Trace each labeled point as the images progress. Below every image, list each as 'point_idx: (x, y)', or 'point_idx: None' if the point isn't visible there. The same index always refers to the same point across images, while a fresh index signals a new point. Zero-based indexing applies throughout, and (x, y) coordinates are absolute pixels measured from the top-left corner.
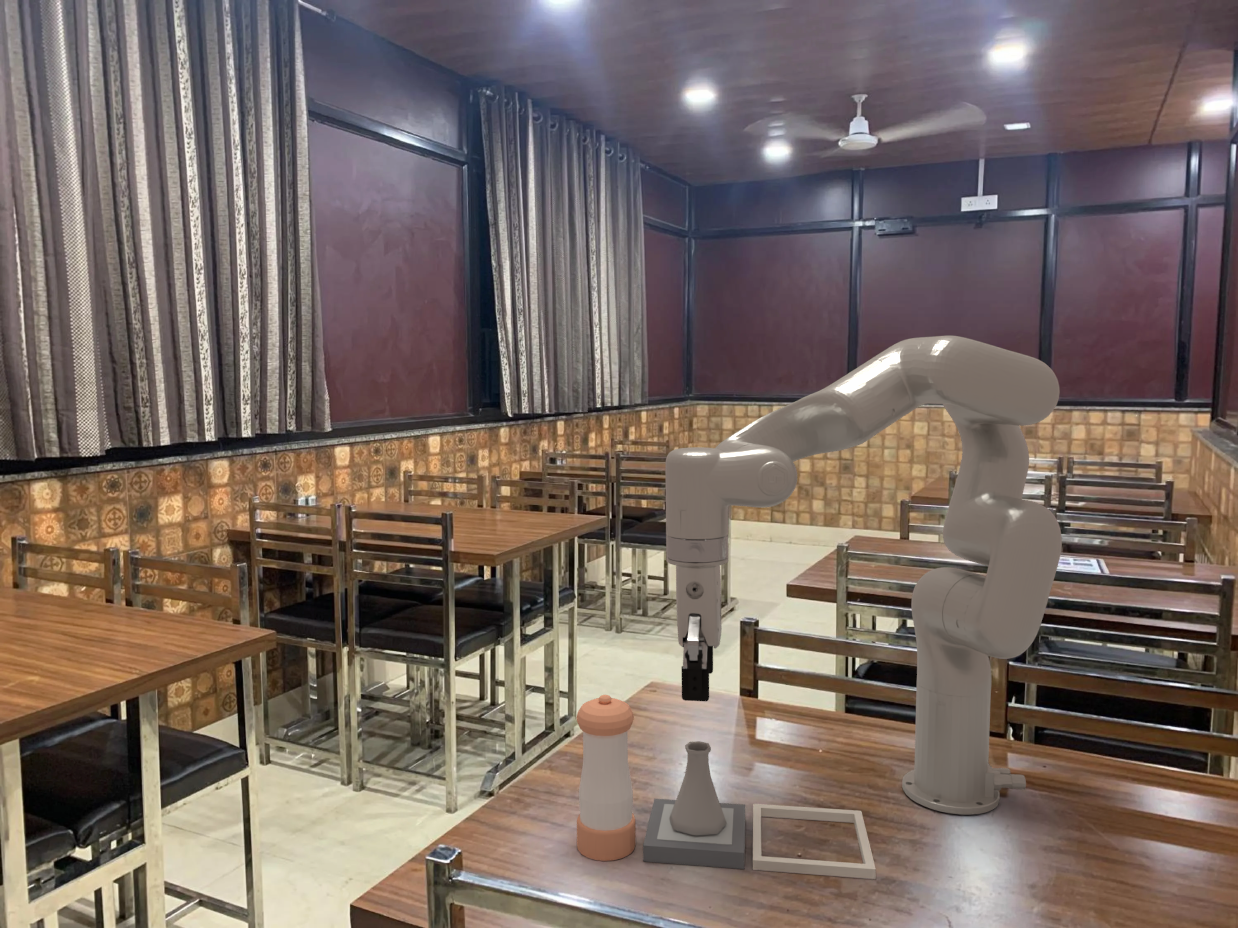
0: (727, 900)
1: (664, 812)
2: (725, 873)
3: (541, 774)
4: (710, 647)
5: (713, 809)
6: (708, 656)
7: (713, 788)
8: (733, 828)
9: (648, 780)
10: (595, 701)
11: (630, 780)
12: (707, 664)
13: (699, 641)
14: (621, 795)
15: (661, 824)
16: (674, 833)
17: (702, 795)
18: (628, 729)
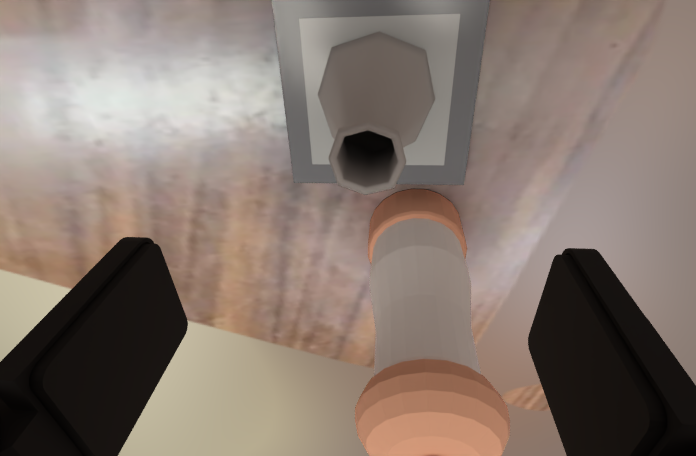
0: (598, 10)
1: None
2: (500, 21)
3: (230, 326)
4: (59, 366)
5: (409, 70)
6: (107, 322)
7: (379, 80)
8: (386, 13)
9: (188, 191)
10: None
11: (420, 263)
12: (139, 289)
13: (55, 451)
14: (458, 266)
15: None
16: (421, 136)
17: (410, 105)
18: (455, 363)
